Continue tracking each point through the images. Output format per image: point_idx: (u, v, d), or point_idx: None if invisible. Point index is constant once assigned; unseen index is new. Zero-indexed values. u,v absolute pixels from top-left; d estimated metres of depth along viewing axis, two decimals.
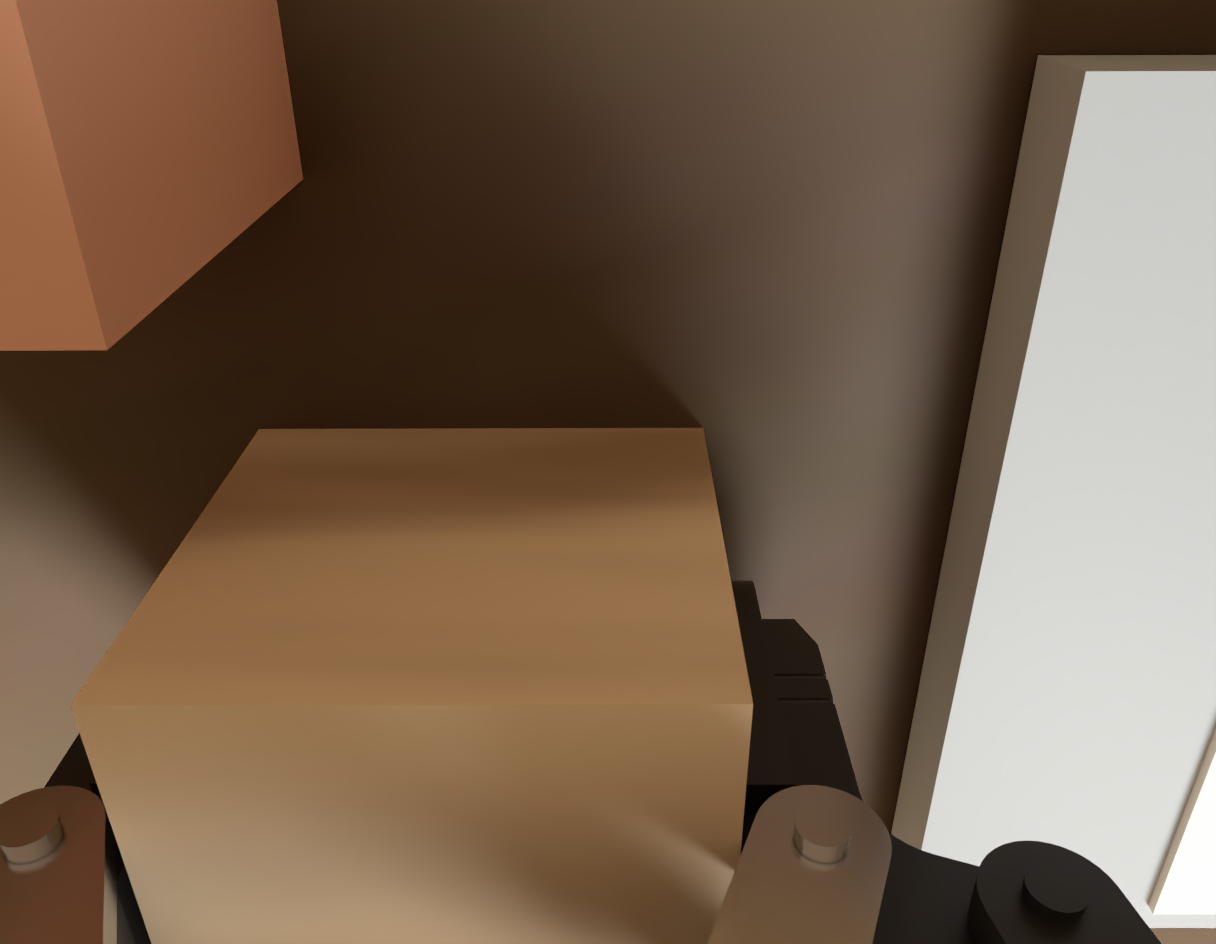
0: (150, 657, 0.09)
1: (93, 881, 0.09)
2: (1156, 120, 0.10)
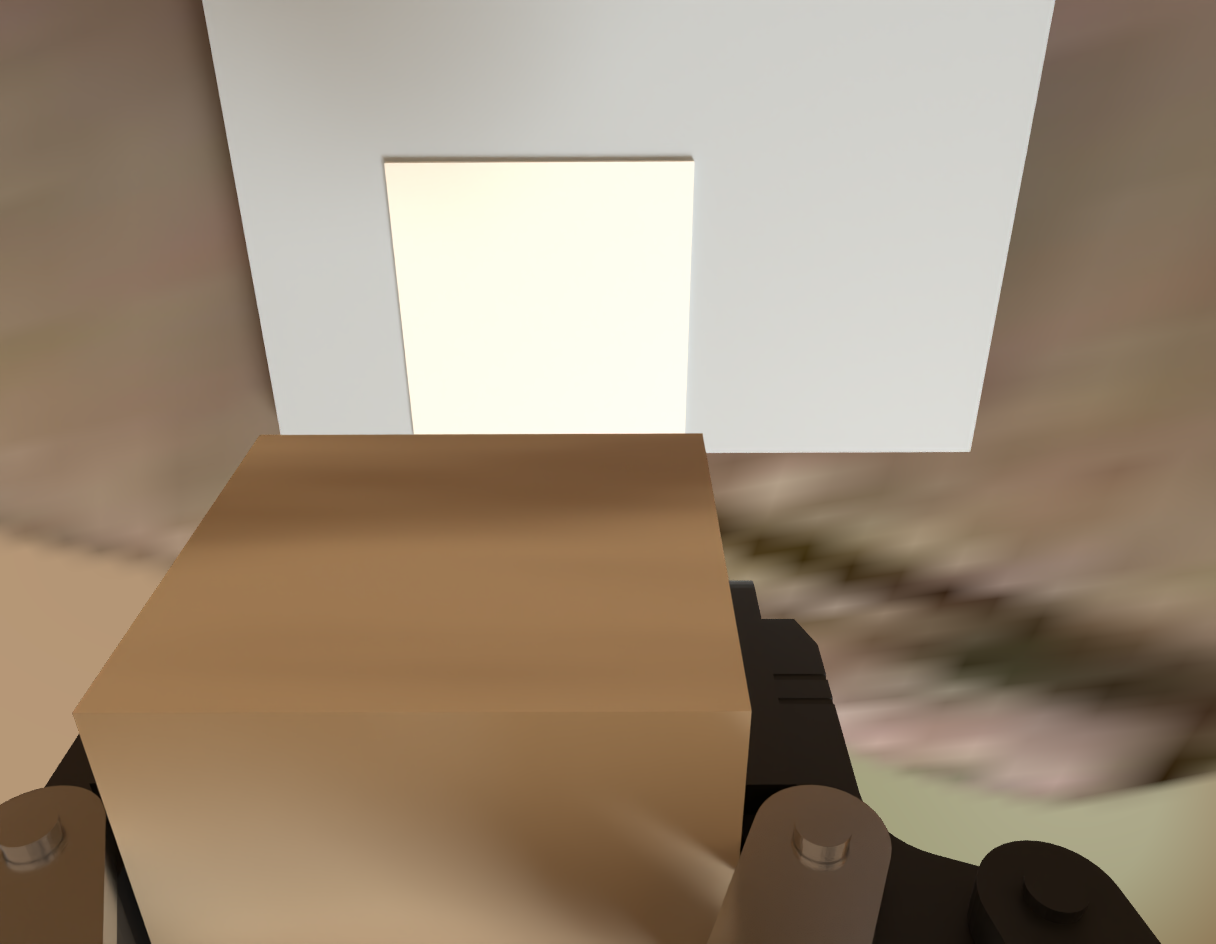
0: (151, 664, 0.09)
1: (93, 881, 0.09)
2: None
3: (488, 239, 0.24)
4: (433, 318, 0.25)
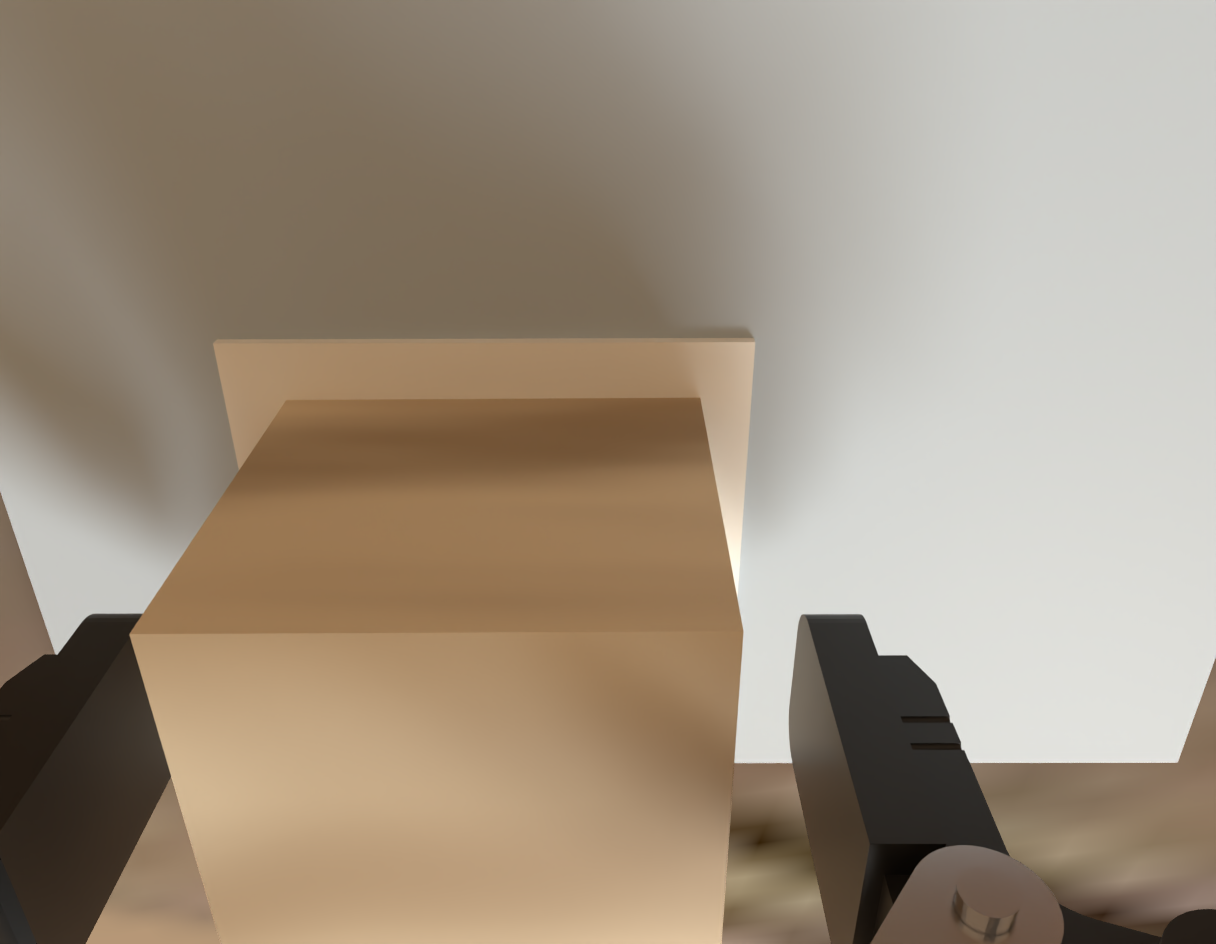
0: (198, 594, 0.10)
1: None
2: None
3: None
4: None
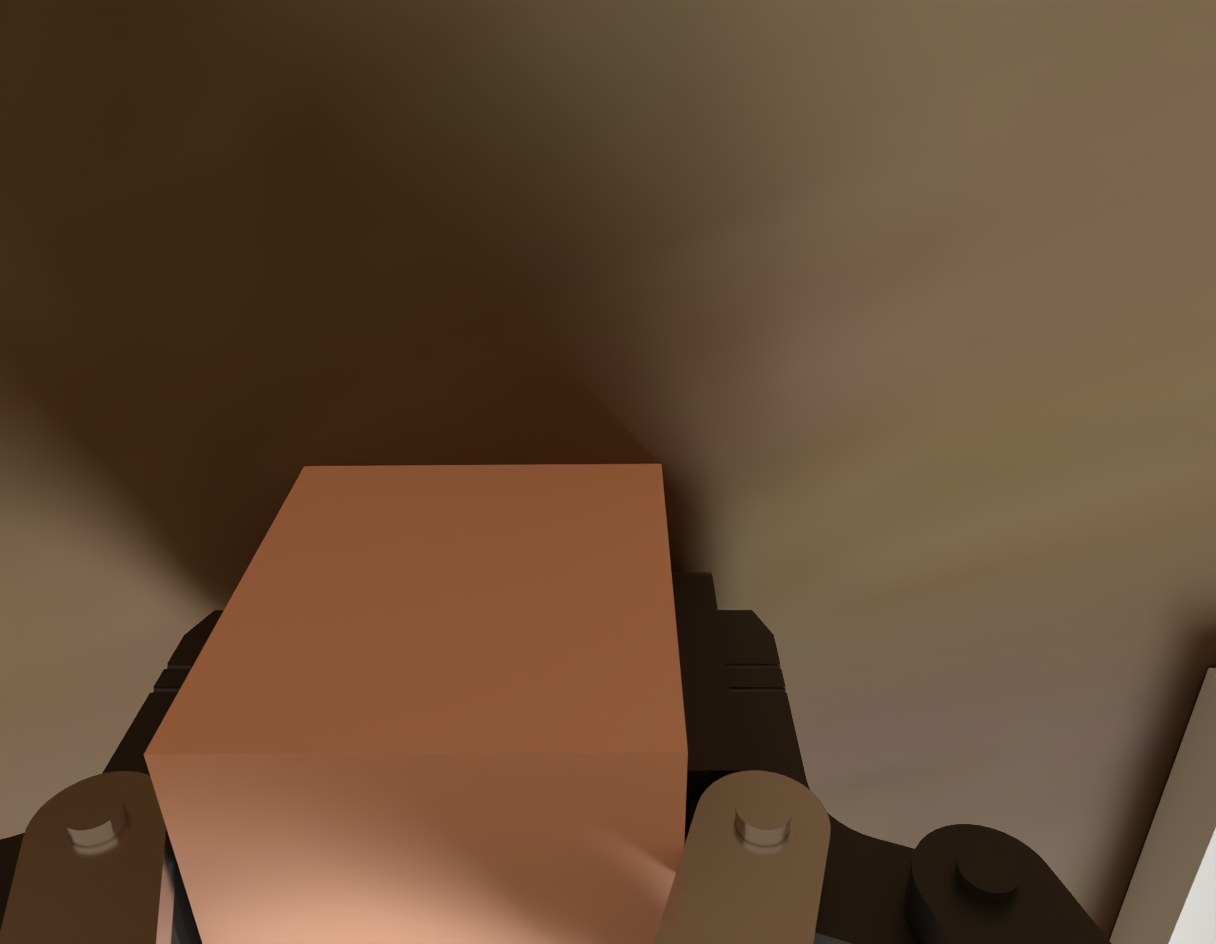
0: None
1: (159, 864, 0.09)
2: None
3: None
4: None
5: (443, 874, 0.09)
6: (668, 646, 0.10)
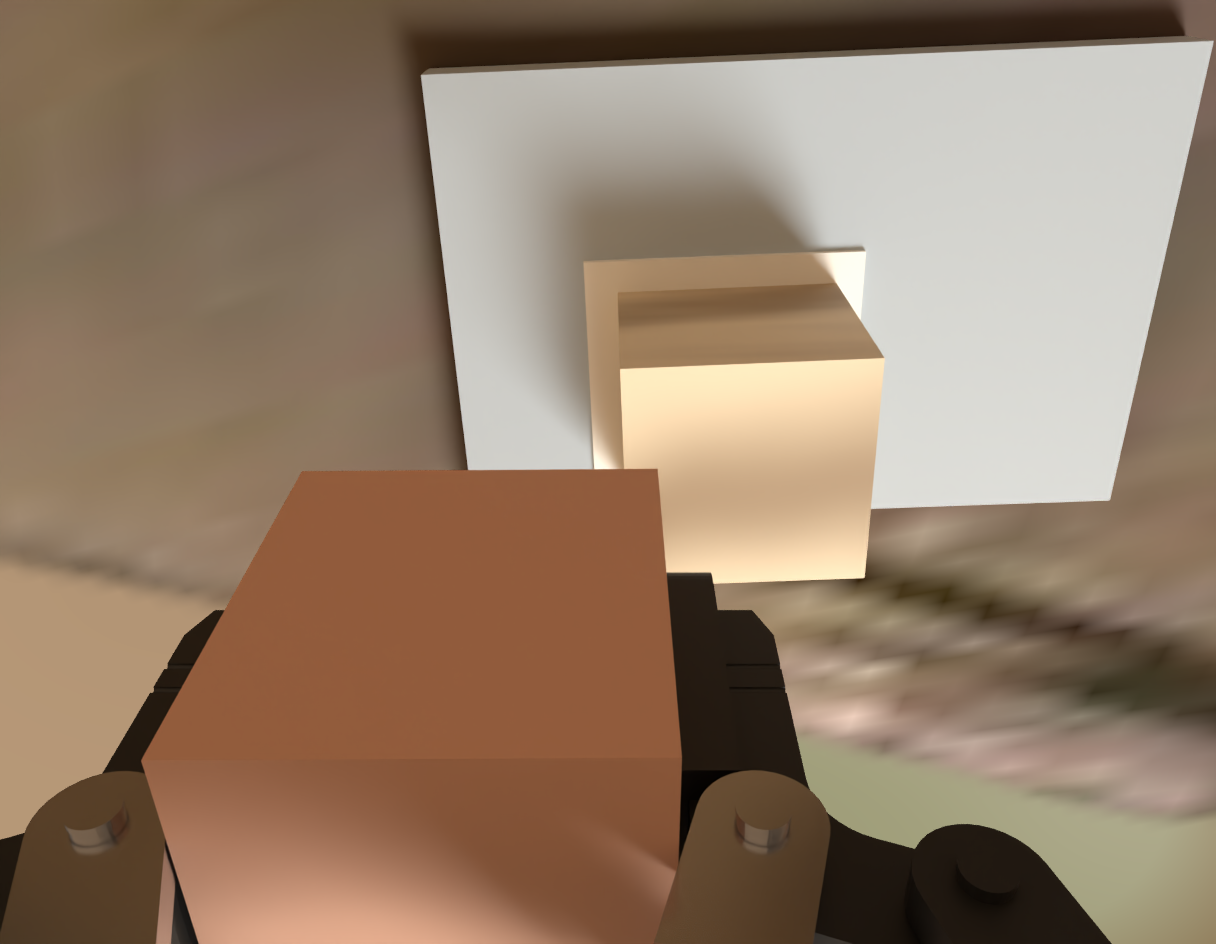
0: (638, 357, 0.22)
1: (160, 864, 0.09)
2: (456, 93, 0.23)
3: None
4: (620, 397, 0.27)
5: (439, 878, 0.09)
6: (663, 652, 0.10)
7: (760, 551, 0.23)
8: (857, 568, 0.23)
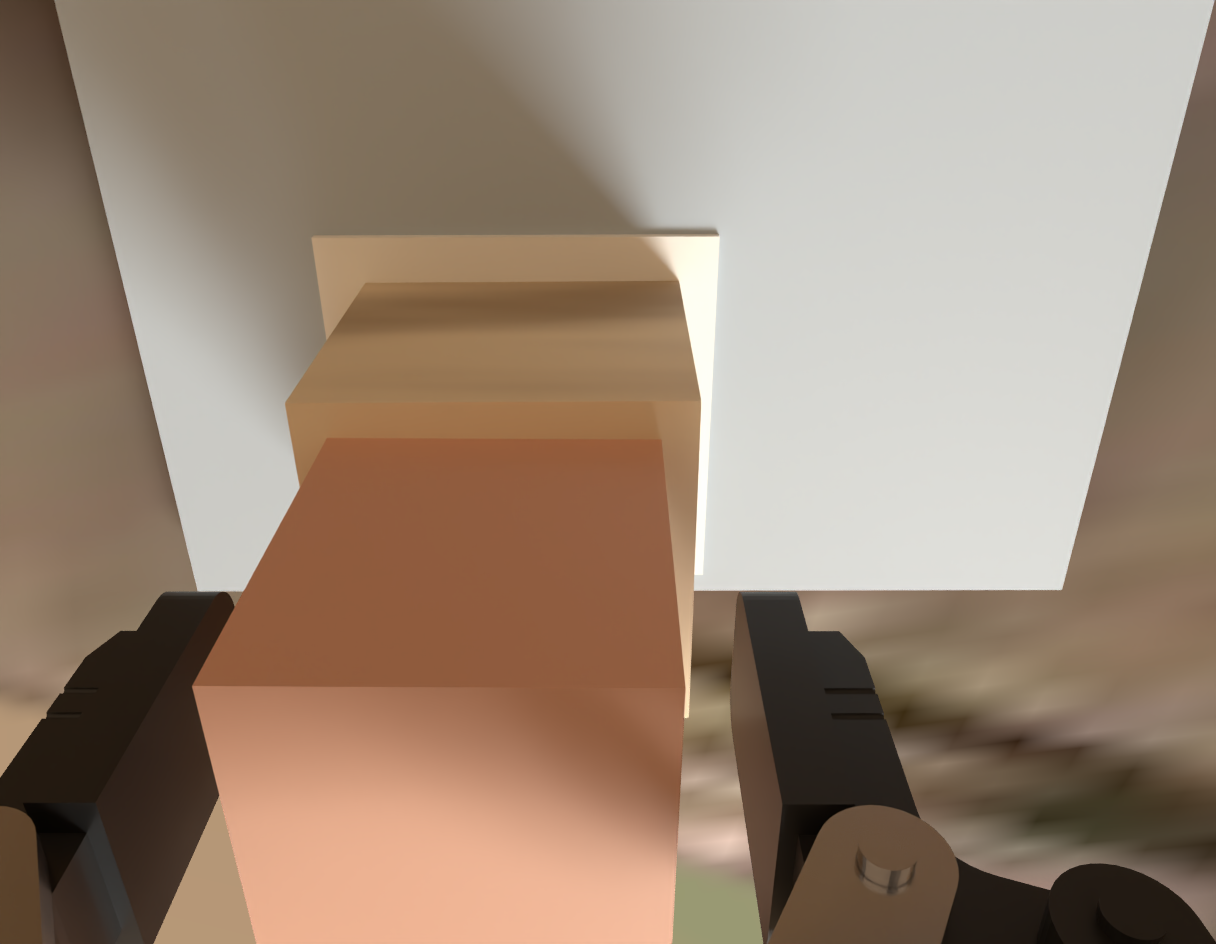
0: (326, 384, 0.14)
1: (18, 905, 0.08)
2: None
3: None
4: None
5: (461, 802, 0.10)
6: (668, 598, 0.10)
7: None
8: None
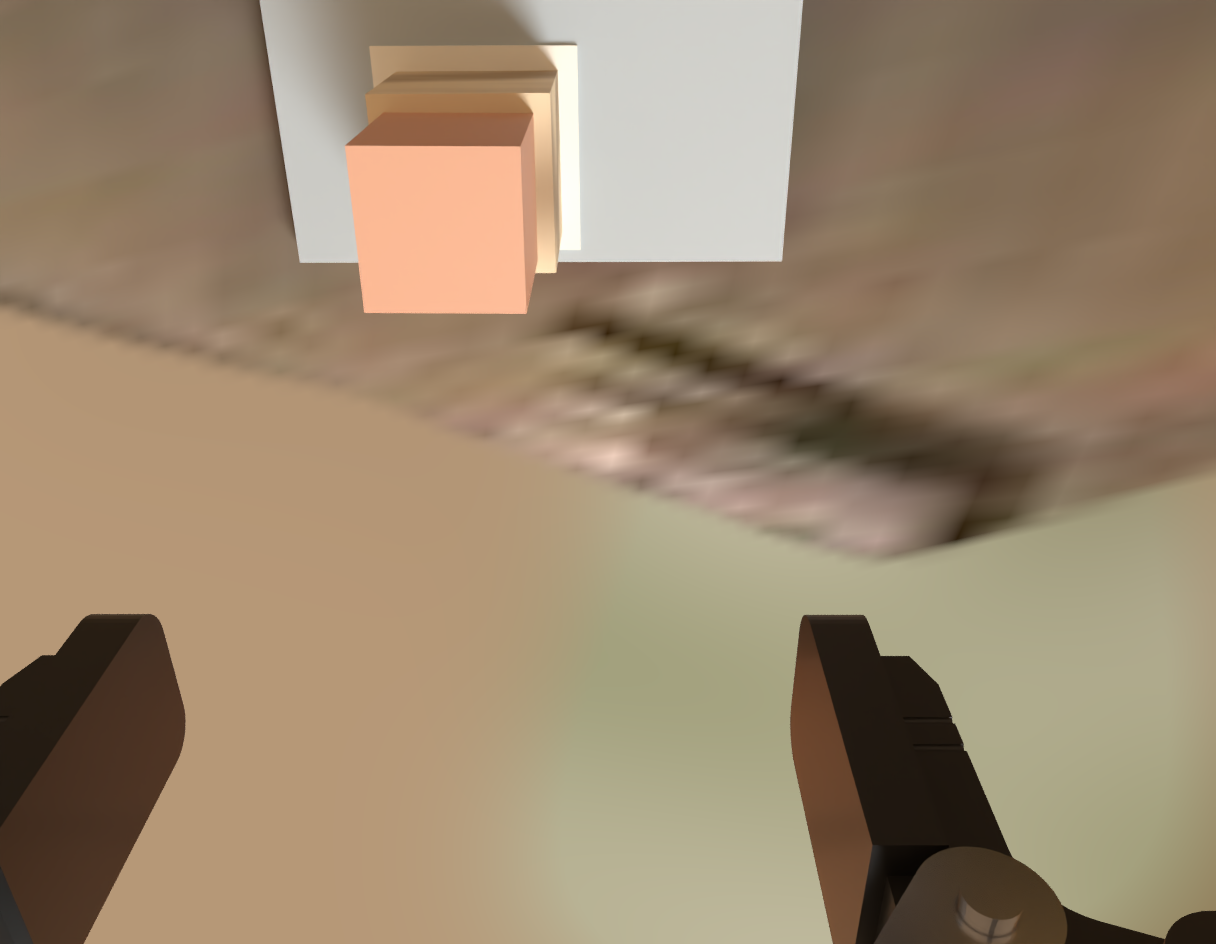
0: (382, 91, 0.31)
1: None
2: None
3: None
4: None
5: (440, 203, 0.27)
6: (520, 135, 0.27)
7: None
8: (550, 264, 0.33)
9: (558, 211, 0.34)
